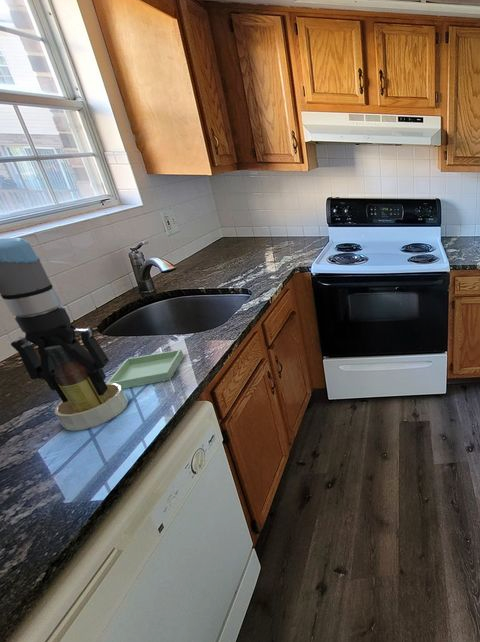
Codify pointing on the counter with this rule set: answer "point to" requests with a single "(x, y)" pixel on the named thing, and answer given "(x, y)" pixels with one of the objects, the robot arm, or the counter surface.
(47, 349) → the sauce bottle
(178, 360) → the tray
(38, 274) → the robot arm
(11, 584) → the counter surface
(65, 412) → the bowl
